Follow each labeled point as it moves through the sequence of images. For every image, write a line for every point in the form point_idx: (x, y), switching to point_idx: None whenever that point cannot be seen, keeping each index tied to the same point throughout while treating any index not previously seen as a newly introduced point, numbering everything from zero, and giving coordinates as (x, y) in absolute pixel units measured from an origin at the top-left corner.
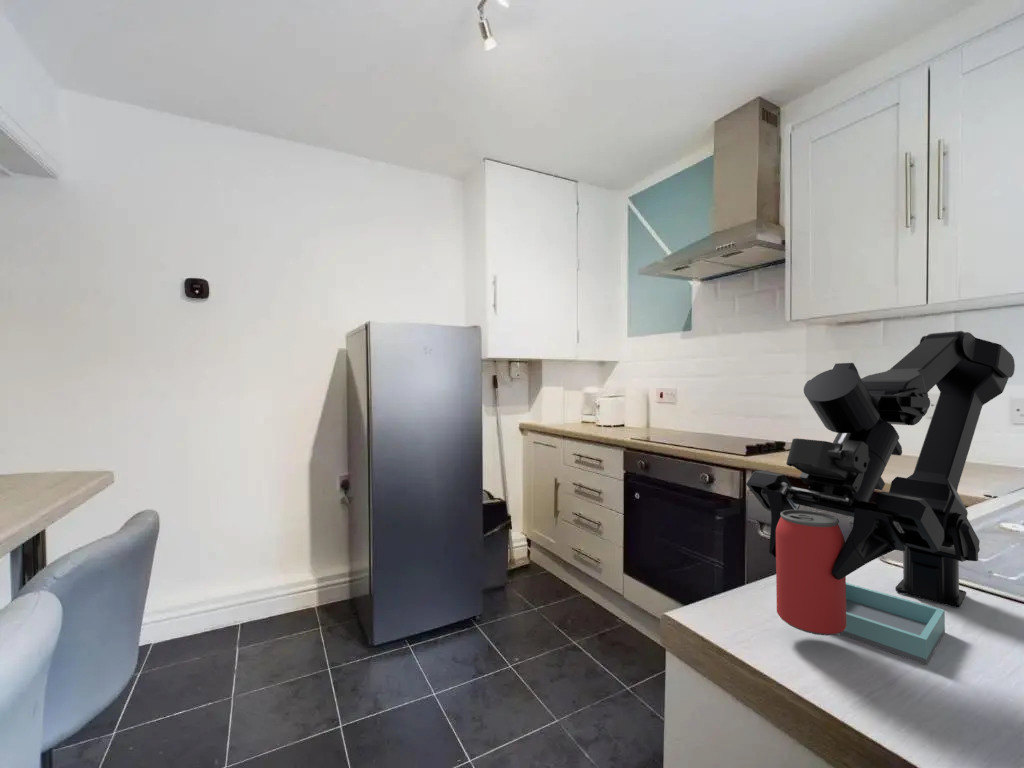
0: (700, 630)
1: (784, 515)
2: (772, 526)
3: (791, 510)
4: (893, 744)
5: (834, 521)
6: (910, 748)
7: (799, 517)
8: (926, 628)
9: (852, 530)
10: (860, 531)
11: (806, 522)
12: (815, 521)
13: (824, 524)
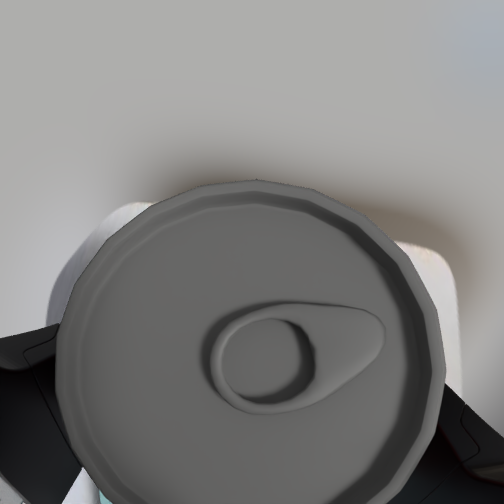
0: (407, 254)
1: (365, 221)
2: (454, 396)
3: (412, 443)
4: (130, 211)
5: (65, 344)
6: (118, 218)
7: (289, 307)
8: (107, 501)
9: (26, 365)
10: (1, 355)
11: (196, 188)
12: (179, 330)
13: (106, 241)
